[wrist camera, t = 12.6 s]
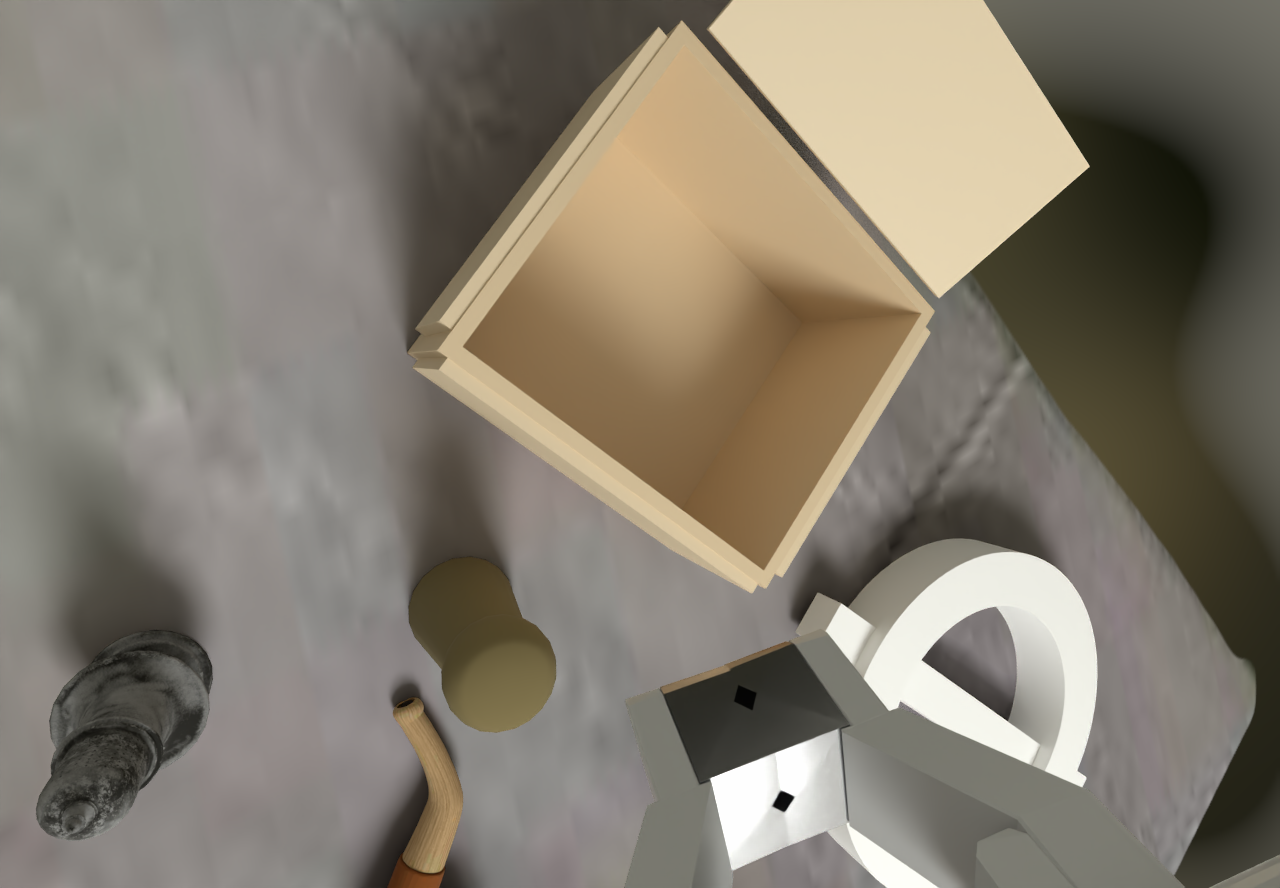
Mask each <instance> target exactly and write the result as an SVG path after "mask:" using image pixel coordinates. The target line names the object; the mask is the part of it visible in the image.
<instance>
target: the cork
mask: <svg viewBox="0 0 1280 888" xmlns="http://www.w3.org/2000/svg"><path fill="white" fill-rule="evenodd" d="M409 624H410V626H411V629H412V631H413V634H414V636H415V638H416V639H417V640H418V642H419V643H420V644H421V645H422V646H423V648H424V649H425V650H426V651H427V652H428V654H429V655H430V656H431V657H432V658H433V659H434V661H435V662H436V663H437V664H438V665H439V667H440V668H441V669H442V671H441V673H442V690H443V693H444V696H445V698H446V701H447V703H448V705H449V708H450V710H451V711H452V712H453V713H454V714H455V715H456V716H457V717H458V718H459V719H460V720H461V721H462V722H463V723H464V724H466V725H468V726H470V727H472V728H474V729H477V730H479V731H484V732H495V733H497V732H502V731H506V730H511V729H515V728H517V727H519V726H520V725H522V724H524V723H526V722H528V721H530V720H531V719H532V718H533V717H534V716H535V715H536V714H537V713H538V712H539V711H540V710H541V709H542V708H543V706H544V705H545V703H546V701H547V700H548V698H549V697H550V695H551V693H552V690H553V687H554V683H555V680H556V659H555V655H554V652H553V649H552V646H551V644H550V641H549V640H548V639H547V638H546V637H545V635H544V634H543V633H542V632H541V631H540V629H539V628H538V627H537V626H536V625H534V624H532V623H531V622H529V621H527V620H525V619H523V618H522V615H521V613H520V610H519V607H518V605H517V602H516V599H515V597H514V594H513V591H512V588H511V586H510V583H509V580H508V578H507V577H506V576H505V575H504V574H503V572H502V571H501V570H500V569H499V568H498V567H497V566H495V565H493V564H492V563H490V562H488V561H486V560H483V559H478V558H473V557H463V558H454V559H451V560H449V561H446V562H444V563H442V564H439V565H437V566H436V567H434V568H433V569H432V570H431V571H430V572H428V573H427V574H426V575H425V576H423V578H422V579H421V581H420V582H419V584H418V585H417V587H416V588H415V590H414V591H413V594H412V598H411V601H410V604H409Z"/></svg>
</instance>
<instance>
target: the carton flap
mask: <svg viewBox="0 0 1280 888" xmlns="http://www.w3.org/2000/svg"><path fill="white" fill-rule="evenodd" d="M707 30H708V31H709V32H710V33H711V35H712V36H713V37H714V38H715V39H716V40H717V42H718V43H719V44H720V45H721V46H722V47H723V49H724V50H725V51H726V52H727V53H728V54H729V56H730V57H731V58H732V59H733V60H734V61H735V63H736V64H737V65H738V66H739V67H740V68H741V70H742V71H743V72H744V73H745V74H746V75H747V77H748V78H749V79H750V80H751V81H752V82H753V84H754V85H755V86H756V87H757V88H758V89H759V91H760V92H761V93H762V94H763V95H764V96H765V98H766V99H767V100H768V101H769V102H770V103H771V105H772V106H773V107H774V108H775V109H776V110H777V112H778V113H779V114H780V115H781V116H782V117H783V119H784V120H785V121H786V122H787V123H788V124H789V126H790V127H791V128H792V129H793V130H794V131H795V133H796V134H797V135H798V136H799V137H800V138H801V140H802V141H803V142H804V143H805V144H806V145H807V147H808V148H809V149H810V150H811V151H812V152H813V154H814V155H815V156H816V157H817V158H818V159H819V161H820V162H821V163H822V164H823V165H824V166H825V168H826V169H827V170H828V171H829V172H830V173H831V175H832V176H833V177H834V178H835V179H836V180H837V182H838V183H839V184H840V185H841V186H842V187H843V189H844V190H845V191H846V192H847V193H848V194H849V196H850V197H851V198H852V199H853V200H854V201H855V203H856V204H857V205H858V206H859V207H860V209H861V210H862V211H863V212H864V213H865V214H866V216H867V217H868V218H869V219H870V220H871V221H872V223H873V224H874V225H875V226H876V227H877V228H878V230H879V231H880V232H881V233H882V234H883V235H884V237H885V238H886V239H887V240H888V241H889V242H890V244H891V245H892V246H893V247H894V248H895V249H896V251H897V252H898V253H899V254H900V255H901V256H902V258H903V259H904V260H905V261H906V262H907V263H908V265H909V266H910V267H911V268H912V269H913V270H914V272H915V273H916V274H917V275H918V276H919V277H920V279H921V280H922V281H923V282H924V283H925V284H926V286H927V287H928V288H929V289H930V290H931V291H932V293H933V294H934V295H936V296H937V297H938V298H940V297H941V296H942V295H943V294H944V293H945V292H947V291H948V290H949V289H950V288H951V287H952V286H953V285H955V284H956V283H957V282H958V281H959V280H960V279H961V278H963V277H964V276H965V275H966V274H967V273H968V272H969V271H971V270H972V269H973V268H974V267H975V266H976V265H977V264H978V263H979V262H981V261H982V260H983V259H984V258H985V257H986V256H988V255H989V254H990V253H991V252H992V251H993V250H995V249H996V248H997V247H998V246H999V245H1000V244H1001V243H1002V242H1004V241H1005V240H1006V239H1007V238H1008V237H1009V236H1011V235H1012V234H1013V233H1014V232H1015V231H1016V230H1017V229H1019V228H1020V227H1021V226H1022V225H1023V224H1024V223H1025V222H1027V221H1028V220H1029V219H1030V218H1031V217H1032V216H1033V215H1035V214H1036V213H1037V212H1038V211H1039V210H1040V209H1041V208H1043V207H1044V206H1045V205H1046V204H1047V203H1048V202H1049V201H1050V200H1052V199H1053V198H1054V197H1055V196H1056V195H1057V194H1059V193H1060V192H1061V191H1062V190H1063V189H1064V188H1065V187H1066V186H1068V185H1069V184H1070V183H1071V182H1072V181H1073V180H1075V179H1076V178H1077V177H1078V176H1079V175H1080V174H1082V173H1083V172H1084V171H1085V170H1086V169H1087V168H1088V167H1089V165H1088V163H1087V161H1086V160H1085V159H1084V157H1083V155H1082V154H1081V152H1080V151H1079V149H1078V147H1077V146H1076V144H1075V143H1074V141H1073V140H1072V138H1071V137H1070V135H1069V133H1068V132H1067V131H1066V129H1065V127H1064V126H1063V124H1062V123H1061V121H1060V119H1059V118H1058V116H1057V115H1056V113H1055V112H1054V110H1053V109H1052V107H1051V105H1050V104H1049V102H1048V101H1047V99H1046V98H1045V96H1044V95H1043V93H1042V91H1041V90H1040V88H1039V87H1038V85H1037V84H1036V82H1035V80H1034V79H1033V77H1032V76H1031V74H1030V73H1029V71H1028V70H1027V68H1026V66H1025V65H1024V63H1023V62H1022V60H1021V59H1020V57H1019V55H1018V54H1017V52H1016V51H1015V49H1014V48H1013V47H1012V45H1011V43H1010V42H1009V40H1008V38H1007V37H1006V35H1005V34H1004V32H1003V31H1002V29H1001V27H1000V26H999V24H998V23H997V21H996V20H995V18H994V17H993V15H992V13H991V12H990V10H989V9H988V7H987V6H986V4H985V2H984V1H983V0H731V1H730V2H729V3H728V4H727V5H726V6H725V8H724V9H723V10H722V11H721V12H720V14H719V15H718V16H717V17H716V18H715V20H714V21H713V22H712V23H711V24H710V25H709V27H708V28H707Z"/></svg>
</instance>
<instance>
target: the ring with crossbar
mask: <svg viewBox="0 0 1280 888" xmlns="http://www.w3.org/2000/svg"><path fill="white" fill-rule="evenodd" d="M995 606H996V607H997V608H998V610H999V611H1000V612H1001V614H1002V615H1003V617H1004V618H1005V620H1006V622H1007V624H1008V626H1009V629H1010V631H1011V634H1012V637H1013V641H1014V645H1015V651H1016V659H1017V681H1016V691H1015V697H1014V702H1013V706H1012V710H1011V714H1010V717H1009V720H1008V721H1006V720H1005V719H1003V718H1002V717H1001V716H999V715H998V714H996V713H995V712H994V711H992V710H991V709H989V708H988V707H987V706H985V705H984V704H982V703H981V702H979V701H978V700H977V699H975V698H974V697H972V696H971V695H970V694H968V693H967V692H965V691H964V690H963V689H961V688H960V687H958V686H957V685H956V684H954V683H953V682H951V681H950V680H948V679H947V678H946V677H944V676H943V675H941V674H940V673H939V672H937V671H936V670H934V669H933V668H932V667H930V666H929V665H927V664H926V663H925V662H923V661H922V658H923V657H924V656H925V654H926V653H927V652H928V650H929V649H930V648H931V647H932V646H933V644H934V643H935V642H936V641H937V640H938V639H939V638H940V637H941V636H942V635H943V634H944V633H945V632H946V631H947V630H949V629H950V628H951V627H952V626H953V625H955V624H956V623H957V622H959V621H960V620H962V619H964V618H965V617H967V616H969V615H971V614H973V613H975V612H977V611H980V610H983V609H986V608H990V607H995ZM819 629H822V630H824V631H825V632H827V633H828V634H829V635H830V637H831V638H832V639H833V640H834V642H835V643H836V644H837V645H838V647H839V648H840V649H841V651H842V652H843V653H844V654H845V656H846V657H847V658H848V659H849V661H850V662H851V663H852V665H853V666H854V667H855V668H856V670H857V671H858V672H859V673H860V675H861V676H862V677H863V678H864V680H865V681H866V682H867V684H868V685H869V686H870V687H871V689H872V690H873V691H874V692H875V694H876V695H877V696H878V698H879V699H880V700H881V701H882V703H883V704H884V705H885V706H886V708H887V709H888V710H889V711H891V710H893V709H896V708H898V705H899V703H900V701H901V702H903V703H904V704H906V705H907V706H909V707H910V708H912V709H913V710H915V711H916V712H918V713H919V714H921V715H923V716H924V717H926V718H927V719H929V720H930V721H932V722H933V723H936V724H938V725H940V726H943V727H945V728H947V729H949V730H952V731H954V732H956V733H959V734H961V735H963V736H966V737H968V738H970V739H972V740H975V741H977V742H979V743H982V744H984V745H986V746H988V747H991V748H993V749H995V750H998V751H1000V752H1002V753H1004V754H1007V755H1009V756H1011V757H1014V758H1016V759H1018V760H1021V761H1023V762H1025V763H1027V764H1030V765H1032V766H1034V767H1037V768H1039V769H1041V770H1043V771H1046V772H1048V773H1050V774H1053V775H1055V776H1057V777H1060V778H1062V779H1064V780H1066V781H1069V782H1071V783H1073V784H1076V785H1078V786H1080V787H1082V786H1083V784H1084V782H1085V780H1086V777H1085V776H1084V775H1082V774H1081V773H1079V772H1078V771H1077V769H1078V767H1079V764H1080V762H1081V759H1082V756H1083V753H1084V750H1085V747H1086V744H1087V740H1088V737H1089V733H1090V729H1091V724H1092V719H1093V714H1094V708H1095V701H1096V691H1097V654H1096V646H1095V640H1094V634H1093V630H1092V626H1091V622H1090V619H1089V616H1088V613H1087V611H1086V608H1085V606H1084V604H1083V601H1082V599H1081V598H1080V596H1079V594H1078V592H1077V591H1076V589H1075V588H1074V586H1073V585H1072V584H1071V582H1070V581H1069V580H1068V579H1067V578H1066V577H1065V576H1064V575H1063V573H1061V572H1060V571H1059V570H1058V569H1057V568H1056V567H1054V566H1053V565H1051V564H1050V563H1048V562H1046V561H1044V560H1042V559H1040V558H1038V557H1035V556H1032V555H1029V554H1025V553H1022V552H1018V551H1014V550H1011V549H1007V548H1003V547H1000V546H996V545H993V544H989V543H985V542H982V541H978V540H972V539H962V538H961V539H946V540H941V541H936V542H933V543H929V544H926V545H924V546H921V547H919V548H917V549H915V550H912V551H910V552H909V553H907V554H905V555H903V556H902V557H900V558H898V559H897V560H896V561H894V562H893V563H891V564H890V565H889V566H887V567H886V568H885V569H883V570H882V571H881V572H880V573H879V574H878V575H877V576H875V577H874V578H873V579H872V580H871V581H870V582H869V583H868V584H867V585H866V586H865V587H864V589H863V590H862V591H861V592H860V593H859V594H858V595H857V597H856V598H855V599H854V600H853V602H852V603H851V604H850V606H849V607H848V608H847V607H846V606H844V605H843V604H841V603H839V602H837V601H835V600H833V599H831V598H829V597H827V596H825V595H822V594H820V593H817V594H816V596H815V598H814V600H813V602H812V603H811V605H810V607H809V609H808V610H807V612H806V614H805V616H804V617H803V619H802V621H801V623H800V624H799V626H798V628H797V630H796V632H795V633H797V634H798V635H800V636H803V635H806V634H808V633H811V632H814V631H816V630H819ZM827 832H828V833H829V834H830V835H831V836H832V837H833V838H834V840H835V841H836V842H837V843H839V844H840V845H841V846H842V847H843V848H844V849H845V850H846V851H847V852H848V853H849V854H850V855H851V856H852V857H853V858H855V859H856V860H857V861H858V862H859V863H860V864H861V865H862V866H863V867H864V868H865V869H866V870H867V871H868V872H869V873H871V874H872V875H873V876H874V877H875V878H876V879H877V880H878V881H879V882H881V883H882V884H883V885H884V886H886V887H887V888H938V887H937V886H935V885H934V884H932V883H931V882H930V881H928V880H927V879H925V878H924V877H922V876H921V875H919V874H918V873H917V872H915V871H914V870H912V869H911V868H909V867H908V866H906V865H905V864H904V863H902V862H901V861H899V860H898V859H896V858H895V857H894V856H892V855H891V854H889V853H888V852H886V851H885V850H883V849H882V848H881V847H879V846H878V845H876V844H875V843H873V842H872V841H870V840H869V839H868V838H866V837H865V836H863V835H862V834H860V833H859V832H857V831H856V830H855V829H853V828H852V827H850V826H849V823H846V824H844V825H841V826H838V827H836V828H833V829H830V830H828V831H827Z"/></svg>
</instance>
